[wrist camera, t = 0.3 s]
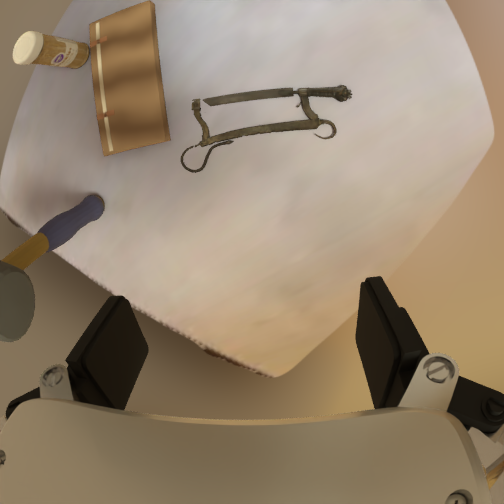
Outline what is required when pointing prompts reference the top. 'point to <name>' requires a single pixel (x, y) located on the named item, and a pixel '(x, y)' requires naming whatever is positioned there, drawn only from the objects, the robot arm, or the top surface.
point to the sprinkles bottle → (49, 51)
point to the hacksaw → (313, 123)
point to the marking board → (128, 80)
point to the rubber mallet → (11, 267)
